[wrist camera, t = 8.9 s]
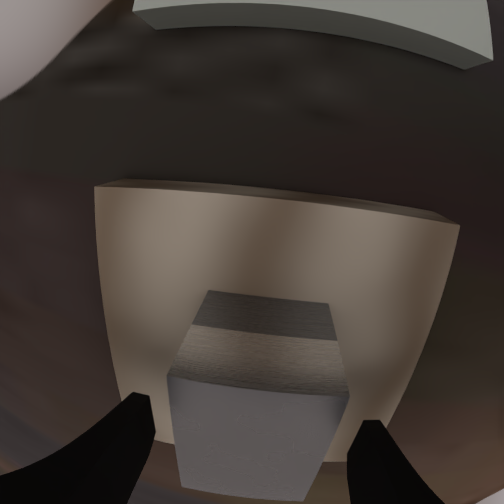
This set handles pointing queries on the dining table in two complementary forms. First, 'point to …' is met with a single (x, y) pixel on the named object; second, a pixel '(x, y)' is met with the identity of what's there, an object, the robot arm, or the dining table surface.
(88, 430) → the robot arm
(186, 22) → the stand
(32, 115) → the dining table surface
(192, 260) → the stand
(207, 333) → the block
